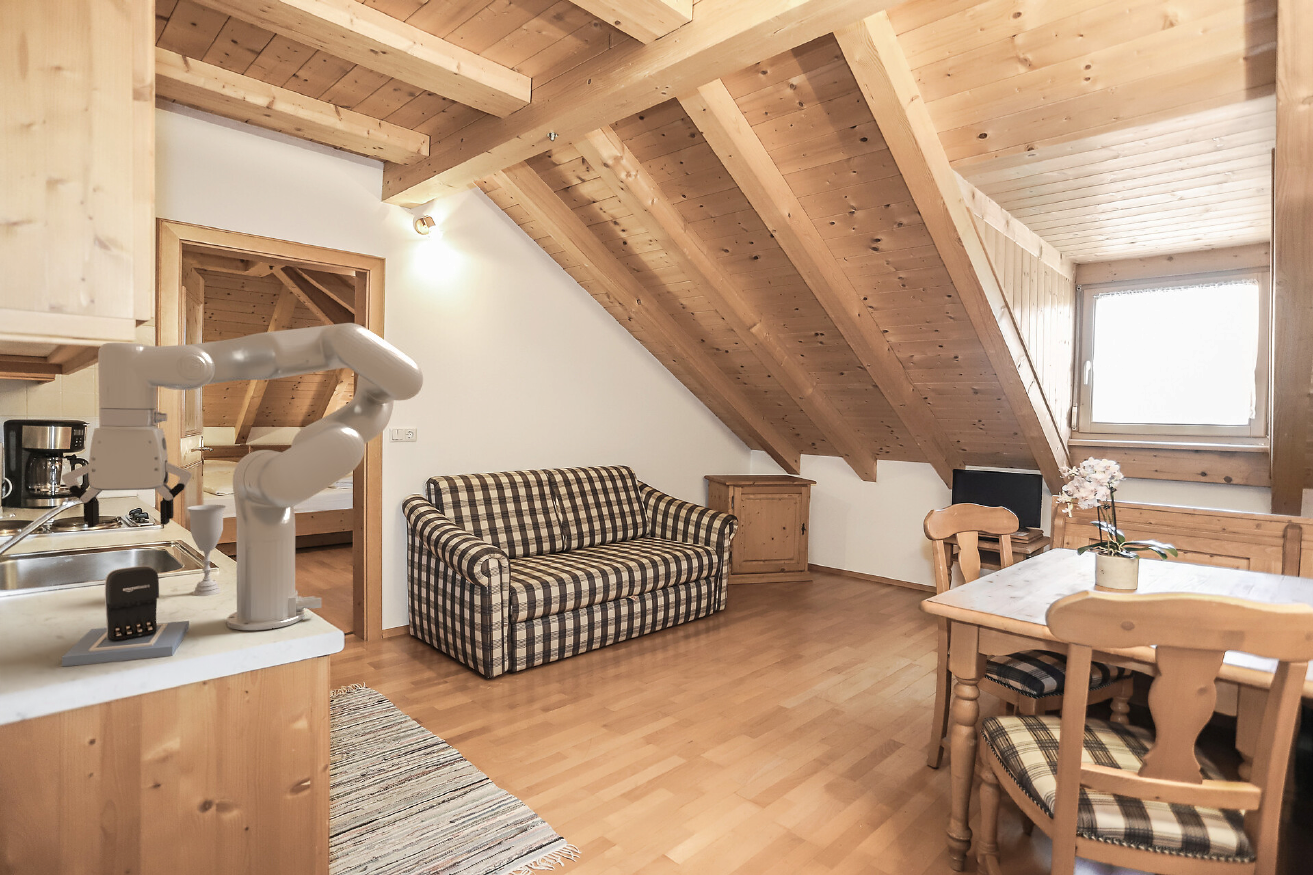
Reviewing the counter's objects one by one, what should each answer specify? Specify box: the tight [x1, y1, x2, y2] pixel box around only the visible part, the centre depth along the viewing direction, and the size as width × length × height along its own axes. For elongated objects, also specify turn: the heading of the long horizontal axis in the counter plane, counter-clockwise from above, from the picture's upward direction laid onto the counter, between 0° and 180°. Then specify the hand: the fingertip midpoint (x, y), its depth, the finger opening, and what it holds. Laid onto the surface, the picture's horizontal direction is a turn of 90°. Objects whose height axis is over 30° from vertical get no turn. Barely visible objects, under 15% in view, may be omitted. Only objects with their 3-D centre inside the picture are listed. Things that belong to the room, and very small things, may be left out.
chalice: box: [187, 504, 226, 597], centre depth 150 cm, size 7×7×18 cm
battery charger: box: [104, 565, 160, 641], centre depth 117 cm, size 7×4×11 cm, turn 139°
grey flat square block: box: [61, 620, 190, 667], centre depth 117 cm, size 14×14×2 cm
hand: (130, 524), depth 117 cm, fingers open, 9 cm apart
